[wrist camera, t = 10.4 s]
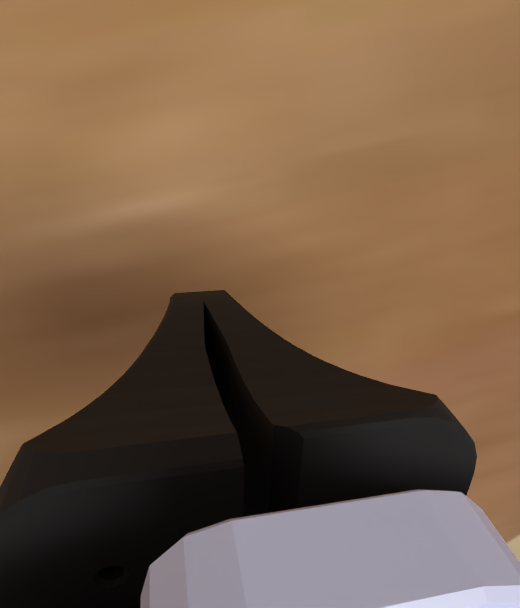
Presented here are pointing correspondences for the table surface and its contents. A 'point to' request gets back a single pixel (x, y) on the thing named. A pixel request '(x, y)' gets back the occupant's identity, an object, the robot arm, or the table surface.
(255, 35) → the table surface
